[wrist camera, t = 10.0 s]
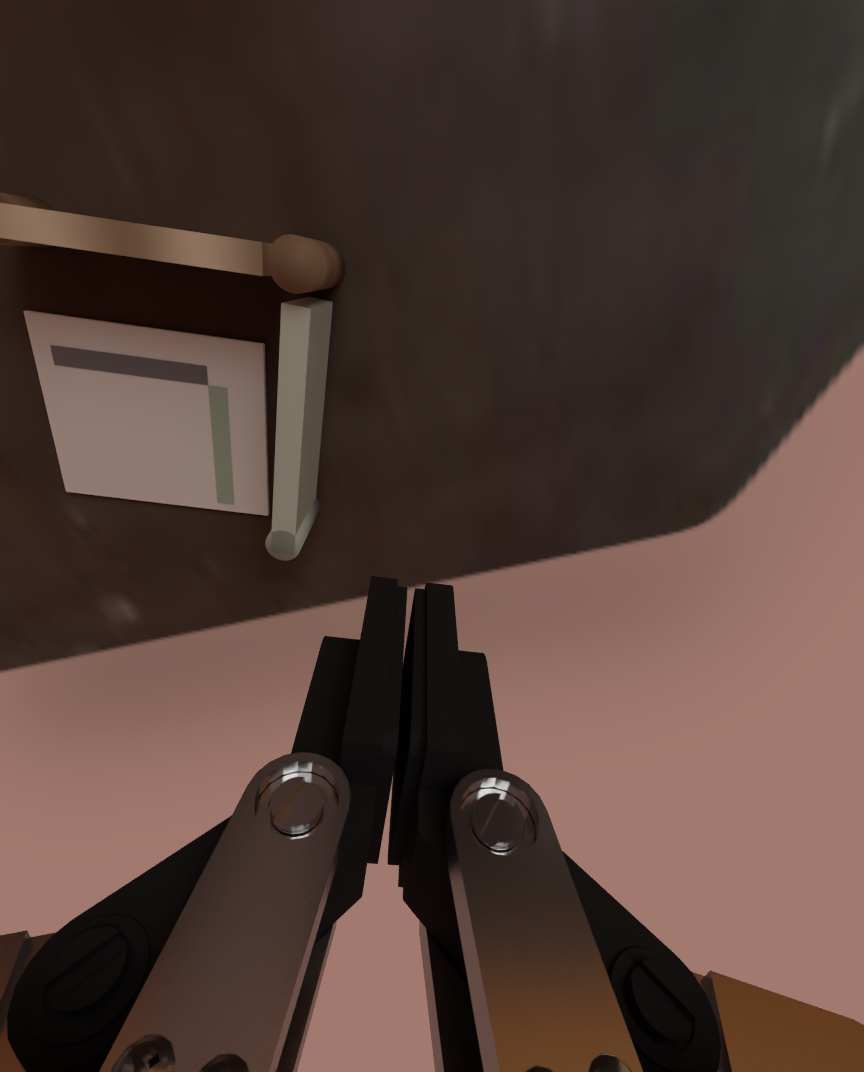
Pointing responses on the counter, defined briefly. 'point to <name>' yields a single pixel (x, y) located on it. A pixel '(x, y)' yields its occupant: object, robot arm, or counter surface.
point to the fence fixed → (173, 245)
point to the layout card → (155, 412)
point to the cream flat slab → (298, 422)
